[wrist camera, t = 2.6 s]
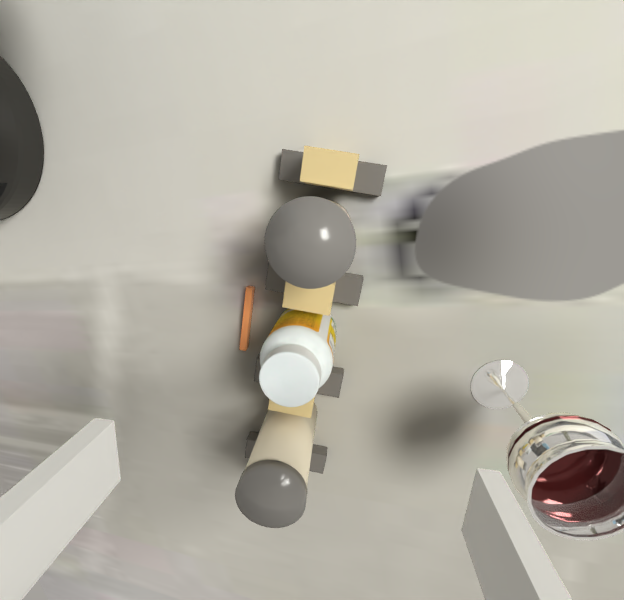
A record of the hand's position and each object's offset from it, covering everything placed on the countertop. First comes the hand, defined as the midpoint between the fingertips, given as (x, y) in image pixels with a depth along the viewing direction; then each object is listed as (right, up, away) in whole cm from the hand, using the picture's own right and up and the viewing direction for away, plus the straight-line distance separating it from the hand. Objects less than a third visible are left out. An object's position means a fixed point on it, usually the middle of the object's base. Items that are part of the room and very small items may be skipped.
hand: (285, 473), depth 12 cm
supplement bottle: (+1, +4, +19) cm, 19 cm away
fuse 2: (-1, -5, +21) cm, 22 cm away
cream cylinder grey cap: (+2, +12, +16) cm, 20 cm away
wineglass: (+18, -1, +18) cm, 26 cm away
